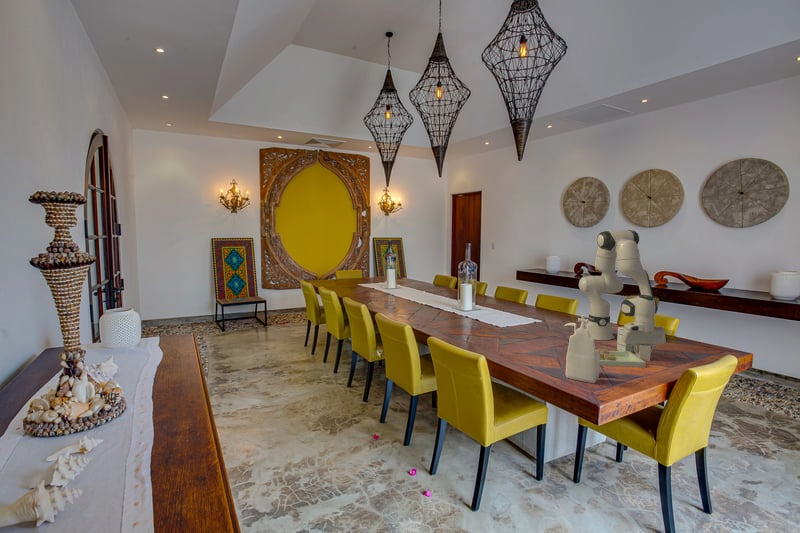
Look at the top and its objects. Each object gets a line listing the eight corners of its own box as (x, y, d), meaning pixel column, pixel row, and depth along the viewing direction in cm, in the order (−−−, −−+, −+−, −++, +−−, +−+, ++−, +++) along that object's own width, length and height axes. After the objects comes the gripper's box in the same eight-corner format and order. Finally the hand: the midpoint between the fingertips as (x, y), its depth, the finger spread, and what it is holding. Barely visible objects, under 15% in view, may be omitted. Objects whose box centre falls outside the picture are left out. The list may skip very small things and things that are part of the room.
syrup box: (625, 355, 215) (626, 329, 213) (616, 352, 220) (617, 326, 219) (633, 354, 216) (635, 328, 215) (624, 351, 222) (626, 325, 220)
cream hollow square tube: (635, 357, 211) (636, 342, 211) (645, 357, 211) (646, 342, 210) (639, 360, 206) (640, 345, 206) (649, 360, 206) (650, 345, 205)
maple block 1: (597, 356, 210) (597, 348, 210) (605, 356, 209) (605, 348, 209) (600, 358, 206) (600, 351, 206) (608, 358, 205) (608, 351, 205)
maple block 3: (604, 361, 201) (604, 354, 201) (612, 362, 201) (612, 354, 200) (607, 364, 197) (607, 356, 197) (615, 364, 197) (616, 356, 196)
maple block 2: (594, 358, 206) (594, 351, 205) (602, 358, 205) (603, 351, 205) (597, 361, 202) (597, 353, 202) (605, 361, 201) (606, 353, 201)
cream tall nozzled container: (600, 376, 186) (604, 312, 183) (596, 385, 175) (599, 317, 172) (562, 368, 196) (564, 308, 193) (555, 376, 185) (557, 312, 182)
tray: (586, 356, 213) (586, 350, 212) (629, 358, 210) (630, 351, 210) (597, 367, 196) (598, 360, 196) (645, 369, 193) (645, 362, 193)
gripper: (662, 325, 209) (661, 351, 210) (621, 324, 211) (619, 349, 213) (669, 328, 203) (667, 354, 204) (626, 327, 205) (625, 353, 206)
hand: (642, 352), depth 208 cm, fingers closed on cream hollow square tube, 5 cm apart
